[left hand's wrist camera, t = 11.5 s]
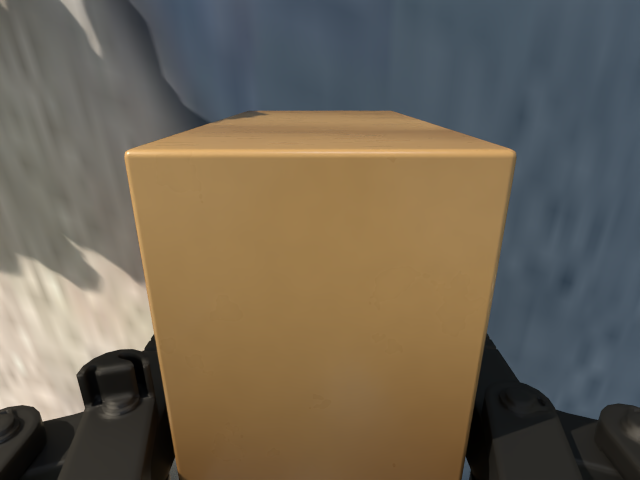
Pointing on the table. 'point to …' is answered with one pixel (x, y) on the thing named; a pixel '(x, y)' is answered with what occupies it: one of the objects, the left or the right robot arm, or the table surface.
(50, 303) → the table surface
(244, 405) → the bar
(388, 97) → the table surface
